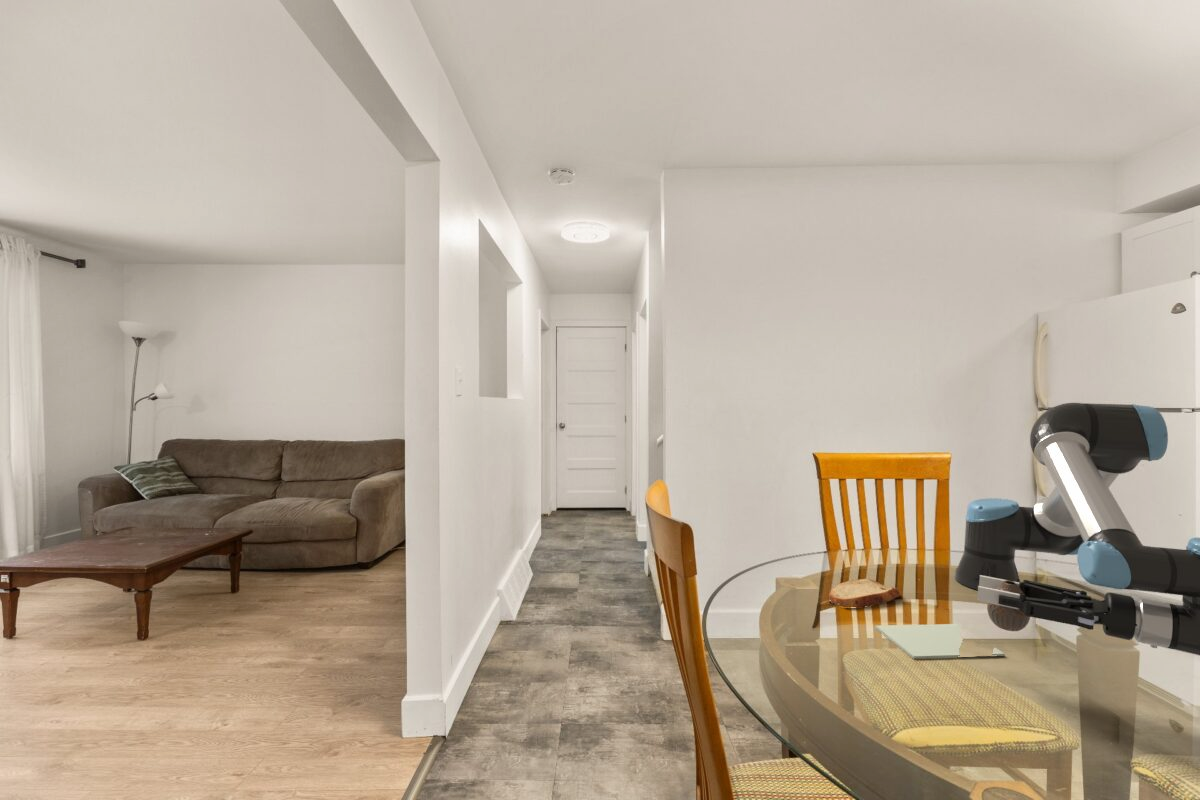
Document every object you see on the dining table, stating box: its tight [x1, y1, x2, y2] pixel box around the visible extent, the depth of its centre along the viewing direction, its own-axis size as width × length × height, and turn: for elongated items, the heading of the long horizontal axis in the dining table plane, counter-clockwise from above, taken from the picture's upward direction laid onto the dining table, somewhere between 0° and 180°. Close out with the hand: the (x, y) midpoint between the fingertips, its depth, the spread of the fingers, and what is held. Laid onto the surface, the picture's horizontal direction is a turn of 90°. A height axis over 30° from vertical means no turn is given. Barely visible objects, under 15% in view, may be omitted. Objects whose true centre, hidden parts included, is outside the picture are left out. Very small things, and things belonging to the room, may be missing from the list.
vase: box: [987, 580, 1031, 632], centre depth 115 cm, size 7×7×9 cm
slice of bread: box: [828, 578, 901, 608], centre depth 153 cm, size 18×18×4 cm
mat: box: [874, 623, 1006, 660], centre depth 130 cm, size 20×14×1 cm
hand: (978, 587), depth 118 cm, fingers closed on vase, 6 cm apart
